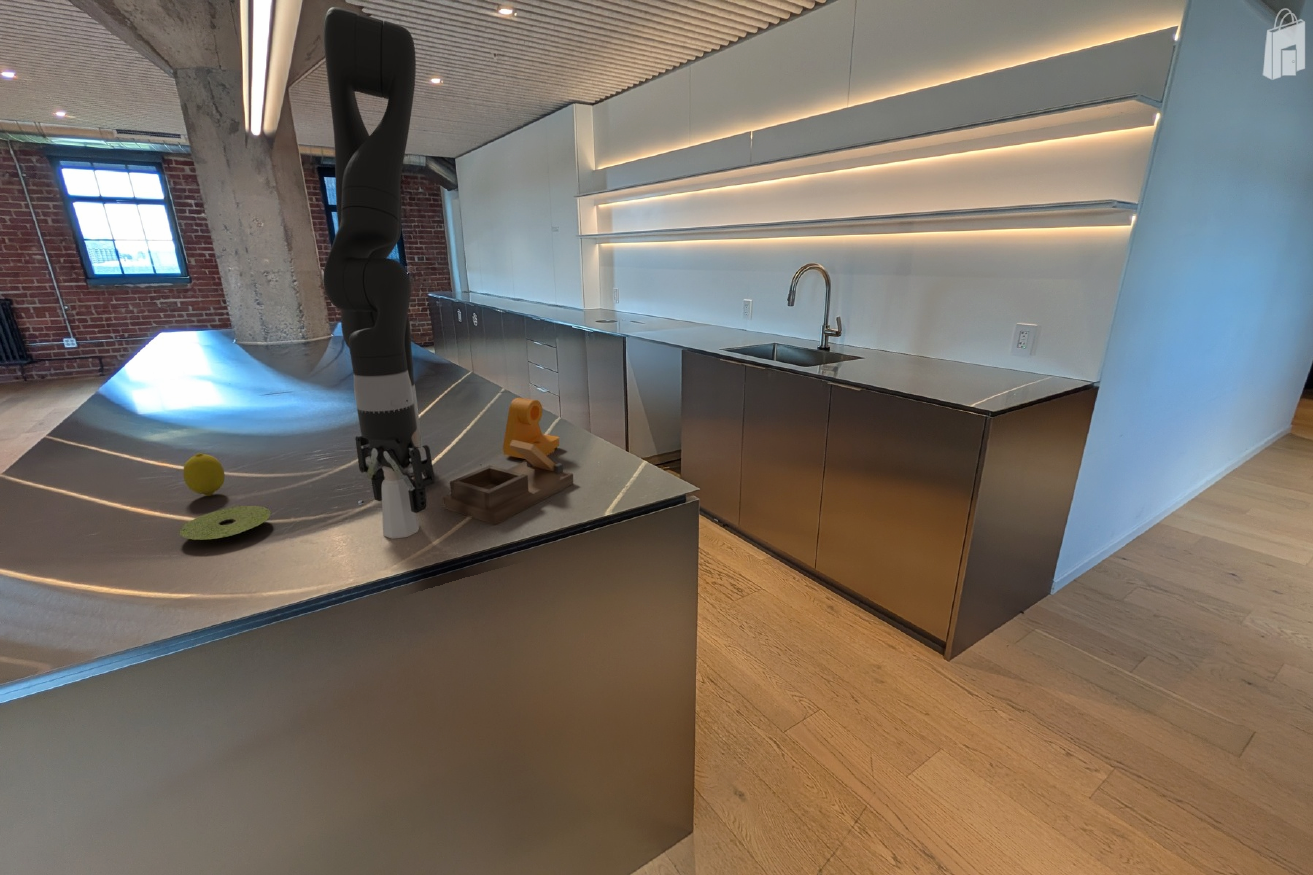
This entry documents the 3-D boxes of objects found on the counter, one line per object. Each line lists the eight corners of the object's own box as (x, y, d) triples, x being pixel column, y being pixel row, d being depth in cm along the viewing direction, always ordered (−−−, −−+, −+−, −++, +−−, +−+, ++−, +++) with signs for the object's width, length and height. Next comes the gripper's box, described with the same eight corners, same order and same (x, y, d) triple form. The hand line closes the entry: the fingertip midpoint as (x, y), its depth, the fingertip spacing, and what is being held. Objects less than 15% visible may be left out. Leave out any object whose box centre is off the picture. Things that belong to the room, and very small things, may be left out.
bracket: (531, 463, 116) (528, 407, 112) (503, 458, 119) (499, 403, 115) (561, 448, 125) (559, 396, 122) (534, 443, 128) (531, 392, 125)
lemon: (186, 504, 95) (174, 460, 93) (193, 492, 100) (182, 450, 98) (226, 498, 98) (215, 455, 95) (231, 487, 103) (221, 446, 100)
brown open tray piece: (444, 507, 95) (441, 480, 94) (525, 471, 112) (523, 447, 110) (495, 524, 90) (493, 496, 88) (573, 483, 106) (572, 458, 105)
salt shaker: (426, 523, 90) (418, 459, 86) (409, 540, 85) (399, 472, 81) (394, 521, 90) (385, 457, 87) (375, 538, 85) (364, 470, 82)
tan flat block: (509, 445, 102) (512, 439, 102) (534, 467, 109) (538, 461, 109) (530, 450, 99) (533, 443, 100) (555, 472, 107) (558, 466, 107)
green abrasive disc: (262, 543, 83) (259, 531, 83) (169, 556, 79) (165, 544, 79) (280, 511, 93) (278, 501, 93) (199, 522, 89) (196, 510, 89)
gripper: (440, 403, 81) (452, 505, 86) (377, 391, 88) (391, 487, 93) (394, 415, 75) (410, 525, 80) (330, 401, 81) (348, 504, 86)
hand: (400, 504), depth 86 cm, fingers open, 8 cm apart
